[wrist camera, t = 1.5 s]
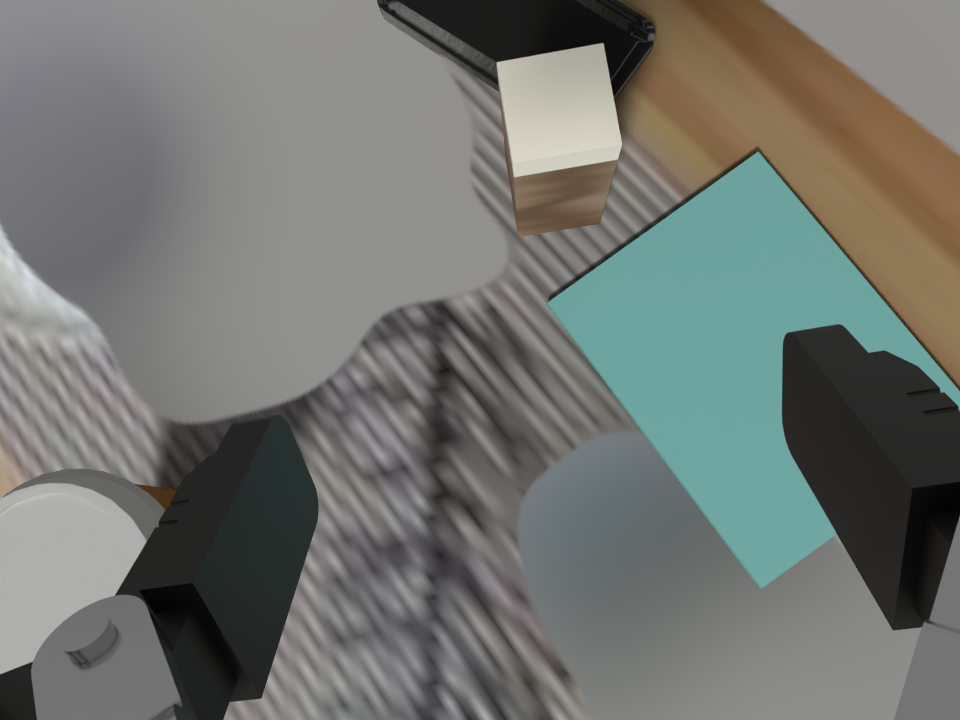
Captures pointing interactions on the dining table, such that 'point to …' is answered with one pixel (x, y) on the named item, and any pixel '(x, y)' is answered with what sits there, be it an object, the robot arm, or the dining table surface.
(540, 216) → the walnut block
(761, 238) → the teal mat
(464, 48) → the phone
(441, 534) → the dining table surface
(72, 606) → the disposable coffee cup
